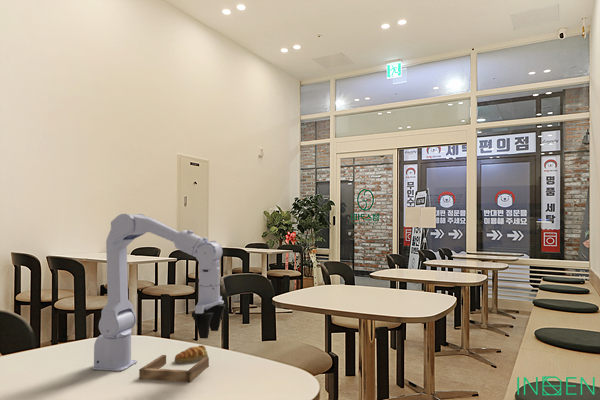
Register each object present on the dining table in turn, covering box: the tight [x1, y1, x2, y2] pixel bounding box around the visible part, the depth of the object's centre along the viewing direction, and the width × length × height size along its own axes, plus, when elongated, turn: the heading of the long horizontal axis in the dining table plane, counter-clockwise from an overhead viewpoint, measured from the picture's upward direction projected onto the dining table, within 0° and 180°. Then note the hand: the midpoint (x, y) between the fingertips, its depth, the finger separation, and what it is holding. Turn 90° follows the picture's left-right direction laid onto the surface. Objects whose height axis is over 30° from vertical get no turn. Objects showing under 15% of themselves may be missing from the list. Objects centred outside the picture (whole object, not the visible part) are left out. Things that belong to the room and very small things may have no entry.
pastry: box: [174, 345, 209, 365], centre depth 126 cm, size 9×7×4 cm
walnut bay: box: [138, 354, 210, 383], centre depth 115 cm, size 14×12×2 cm
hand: (209, 334), depth 116 cm, fingers open, 7 cm apart
